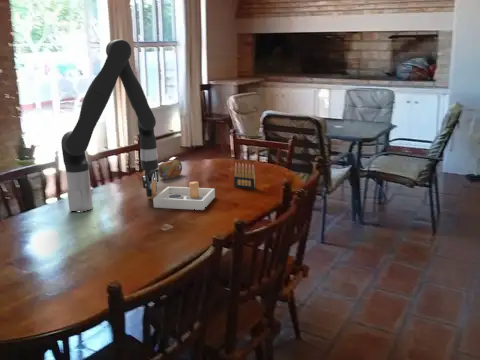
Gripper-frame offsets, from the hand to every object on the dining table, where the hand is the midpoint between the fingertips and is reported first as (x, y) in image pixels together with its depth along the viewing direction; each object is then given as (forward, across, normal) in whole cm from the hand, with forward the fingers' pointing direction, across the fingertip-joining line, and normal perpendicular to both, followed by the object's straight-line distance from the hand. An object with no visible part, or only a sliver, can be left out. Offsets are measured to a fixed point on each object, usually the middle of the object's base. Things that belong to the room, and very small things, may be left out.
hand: (151, 194), depth 245 cm
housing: (+1, +4, +17) cm, 18 cm away
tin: (+2, -35, -4) cm, 35 cm away
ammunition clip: (+2, -22, +38) cm, 44 cm away
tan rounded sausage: (+2, 0, 0) cm, 2 cm away
